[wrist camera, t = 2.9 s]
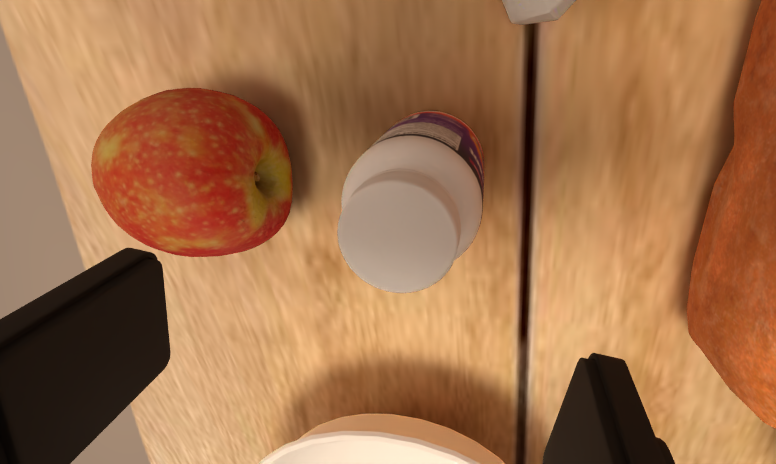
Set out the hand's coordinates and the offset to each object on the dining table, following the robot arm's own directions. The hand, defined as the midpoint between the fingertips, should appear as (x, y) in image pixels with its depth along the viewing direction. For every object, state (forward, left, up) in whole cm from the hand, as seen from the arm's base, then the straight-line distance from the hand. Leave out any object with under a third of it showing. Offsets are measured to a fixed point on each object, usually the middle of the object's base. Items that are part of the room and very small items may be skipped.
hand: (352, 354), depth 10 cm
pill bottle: (0, 0, -15) cm, 15 cm away
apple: (+1, -11, -15) cm, 19 cm away
